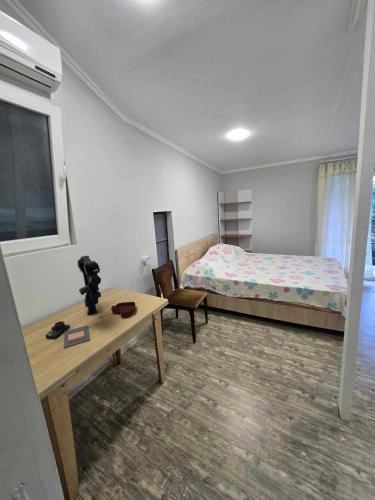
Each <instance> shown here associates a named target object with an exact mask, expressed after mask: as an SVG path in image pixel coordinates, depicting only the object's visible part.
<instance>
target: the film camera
mask: <svg viewBox="0 0 375 500" xmlns="http://www.w3.org/2000/svg"><path fill="white" fill-rule="evenodd" d="M70 328H71V325H70V324H65V321H63V320H61V321H57V322H55V323H54V325H53V326H52V327H51V328H50V330H49V331H48V333H46V334H45V339H50V340H51V339H52V340H57V339H58V338H59V337H61V336H62V335H64V331H68V330H70Z"/></svg>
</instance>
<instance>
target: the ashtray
mask: <svg viewBox="0 0 375 500" xmlns="http://www.w3.org/2000/svg"><path fill="white" fill-rule="evenodd" d="M135 310H136V302H135V301H123V302H117V304H115V305H114V304H113V305H112V306H111V307H110V311H111V312H112V313H114V314H118V315H120V316H121V317H123V318H128V317H129V316H131V315H132V314H134V313H135Z"/></svg>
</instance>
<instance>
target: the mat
mask: <svg viewBox="0 0 375 500" xmlns="http://www.w3.org/2000/svg"><path fill="white" fill-rule="evenodd" d="M81 331H84V339H80V340H77V341H73V342H70V343H69V341H68V335H70V334H74V333H77V332H81ZM63 335H64V337H63V338H64V339H63V349H66V348H71V347H74V346H77V345H80V344H83V343H86V342H90V341H91V338H90V337H91V336H90V331H89V325H84V326H79V327H76V328H72V329H68V330H67V331H64V333H63Z"/></svg>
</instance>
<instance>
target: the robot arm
mask: <svg viewBox="0 0 375 500" xmlns="http://www.w3.org/2000/svg"><path fill="white" fill-rule="evenodd" d="M77 268H78V269H79V271H80V273H82V277H83V282H84V286H82V287H81V288H79V290H78V291H79V294H80V295H81V296H84V300H83V301H84V302H83V303H84V306H85V308H87V311H86V313H87V316H90V315H94V314H98V309H97V305H98V304H99V298H101V297H102V293H101V292H100V288H99V285H101V283H102V279H101V277H100V276H99V275H98V274H100V273H101V272H100V271H101V268H100V265H99V264H98V262H96V261H95V260H92V259H91V258H90V256H89V255H83V256H80V258H79V259H78V260H77Z"/></svg>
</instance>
